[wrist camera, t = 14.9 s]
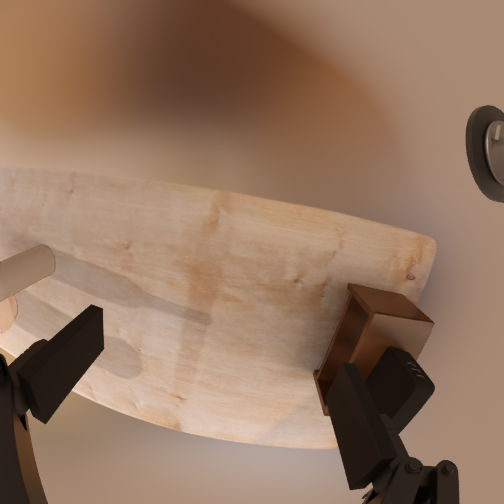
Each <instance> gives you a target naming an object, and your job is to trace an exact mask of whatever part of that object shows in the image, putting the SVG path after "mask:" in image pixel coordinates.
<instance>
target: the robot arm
mask: <svg viewBox="0 0 504 504" xmlns="http://www.w3.org/2000/svg"><path fill="white" fill-rule="evenodd" d="M483 154H484V159H485V163H486V166H487V169H488V171H489V173H490V175H491V177H492V178H493V180H494V181H495V182H496V183H497V184H499V185H501V186H504V122H503V121H492V122H490V123H488V124H487V126H486V127H485V130H484V133H483ZM103 350H104V335H103V308H100V307H98V306H95V305H92V304H91V305H90V306H89V307H88V308H86V309H85V310H84V311H83V312H82V313H80V314H79V315H78V316H77V317H76V318H75V319H73V320H72V321H71V322H70V323H69V324H68V325H66V326H65V327H64V328H63V329H62V330H61V331H60V332H58V333H57V334H56V335H55V336H54V337H53V338H52V339H50V340H49V341H47V340H45V339H42V340H39V341H37V342H35V343H33V344H32V345H31V346H30V347H29V349H27V350H25V351H24V353H22V354H21V355H20V356H19V357H18V358H16V359H15V360H14V362H12V363H11V364H10V365H9V366H7V362H6V360H5V357H4V356H3V355H2V354H0V504H48V502H47V500H46V496H45V493H44V490H43V487H42V484H41V480H40V477H39V473H38V469H37V465H36V461H35V457H34V452H33V448H32V443H31V437H30V432H29V425H28V419H27V415H26V412H27V411H28V409H29V408H30V411H31V413H32V415H33V417H35V418H36V419H38V420H40V421H41V422H43V423H44V424H46V423H47V422H48V421H49V419H50V418H51V417H52V415H53V414H54V412H55V411H56V410H57V408H58V407H59V406H60V404H61V403H62V401H63V400H64V399H65V398H66V396H67V395H68V394H69V393H70V391H71V390H72V389H73V387H74V386H75V385H76V383H77V382H78V381H79V380H80V378H81V377H82V376H83V375H84V373H85V372H86V371H87V370H88V368H89V367H90V366H91V365H92V363H93V362H94V361H95V360H96V358H97V357H98V356H99V355H100V353H101V352H102V351H103ZM325 400H326V404H327V407H328V411H329V414H330V418H331V421H332V425H333V428H334V432H335V436H336V439H337V443H338V447H339V450H340V454H341V458H342V462H343V465H344V469H345V473H346V477H347V481H348V484H349V489H350V490H355V489H363V488H366V486H368V485H369V484H370V483H371V482H372V485H373V488H372V489H371V490H370V491H369V492H367V494H365V495H364V496H363V497H362V499H364V498H365V497H366V496H367V497H366V498H365V500H364V502H363V503H362V504H459V480H458V469H457V467H456V465H455V464H454V463H453V462H451V461H448V460H443V461H441V462H439V463H438V464H437V465H436V466H435V467H434V466H423V464H422V463H421V462H420V461H419V460H418V459H416V458H413V457H409V455H408V453H407V451H406V449H405V447H404V444H403V443H402V440H401V438H400V436H398V432H397V430H395V429H396V428H395V426H394V424H393V422H392V420H391V419H390V418H389V417H388V416H387V415H386V414H379V412H378V410H377V408H376V406H375V404H374V401H373V399H372V397H371V395H370V393H369V391H368V389H367V387H366V385H365V383H364V381H363V379H362V377H361V375H360V373H359V371H358V369H357V367H356V365H355V364H354V363H344V362H343V363H342V365H341V367H340V370H339V372H338V374H337V376H336V378H335V380H334V382H333V384H332V385H331V387H330V389H329V391H328V393H327V395H326V397H325Z"/></svg>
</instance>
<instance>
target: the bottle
mask: <svg viewBox="0 0 504 504" xmlns="http://www.w3.org/2000/svg"><path fill="white" fill-rule="evenodd" d="M54 270H55V258H54V255H53V253H52V251H51V249H50V248H49V247H48V246H46V245H40V246H37V247H35V248H32V249H30V250H27V251H25V252H22V253H20V254H17V255H15V256H13V257H10V258H8V259H6V260H3V261H1V262H0V302H2V301H4V300H5V299H7V298H9V297H11V296H12V295H14V294H16V293H18V292H19V291H21V290H23V289H25V288H27V287H29V286H30V285H32V284H34V283H36V282H38V281H40V280H42V279H43V278H45V277H47V276H49V275H51V274H52V273H53V272H54Z"/></svg>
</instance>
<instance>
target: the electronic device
mask: <svg viewBox="0 0 504 504" xmlns="http://www.w3.org/2000/svg"><path fill="white" fill-rule="evenodd" d="M364 383H365V385H366V387H367V389H368V391H369V393H370V395H371V397H372V399H373V401H374V404H375V406H376V408H377V410H378V412H379V414H386V415H387V416H388V417H389V418H390V419H391V420H392V422H393V424H394V426H395V428H396V429H395V430H397V432H398V434H399V433H400V432H401V431H402V430H403V429H404V428H405V427H406V425H407V424H408V423H409V422H410V421H411V420H412V419H413V417H414V416H415V415H416V414H417V413H418V412H419V410H420V409H421V408H422V407H423V405H424V404H425V403H426V402H427V400H428V399H429V398H430V396H431V395H432V394H433V392H434V390H435V386H434V384H433V382H432V381H431V380H430V378H429V377H428V376H427V375H426V373H425V372H424V370H423V369H422V368H421V367H420V365H419V364H418V363H417V362H416V360H415V359H414V358H413V357H412V355H411V354H410V353H409V352H407V351H403V350H399V349H395V348H391V347H388V348H387V349H386V350H385V351H384V353H383V355H382V356H381V358H380V359H379V361H378V363H377V364H376V366H375V367H374V369H373V370H372V372H371V373H370V375H369V376H368V377H367V379H366V380H365V382H364Z"/></svg>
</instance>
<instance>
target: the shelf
mask: <svg viewBox="0 0 504 504" xmlns="http://www.w3.org/2000/svg"><path fill="white" fill-rule="evenodd" d="M347 289H348V290H349V291H350V292H351V293H350V296H349V298H348V301H347V304H346V306H345V309H344V312H343V314H342V317H341V320H340V322H339V325H338V327H337V330H336V332H335V335H334V337H333V340H332V342H331V344H330V347H329V349H328V351H327V354H326V356H325V358H324V361H323V363H322V365H321V367H320V370H319V371H316V370H314V373H313V376H314V380H315V383H316V387H317V391H318V395H319V398H320V402H321V406H322V410H323V413H324V416H330V414H329V411H328V407H327V404H326V400H325V397H326V395H327V393H328V391H329V389H330V387H331V385H332V384H333V382H334V380H335V378H336V376H337V374H338V372H339V370H340V367H341V365H342V363H343V362H344V363H354V364H355V365H356V367H357V369H358V371H359V373H360V375H361V377H362V379H363V381H364V382H365V380H366V379H367V377H368V376H369V375H370V373H371V372H372V370H373V369H374V367H375V366H376V364H377V363H378V361H379V359H380V358H381V356H382V355H383V353H384V351H385V350H386V349H387V348H388V347H391V348H395V349H399V350H403V351H407V352H409V353H410V354H411V355H412V357H413V358H414V359H415V360H417V358H418V356H419V355H420V353H421V351H422V349H423V347H424V345H425V343H426V341H427V339H428V337H429V335H430V333H431V330H432V328H433V326H434V324H435V323H434V322H433V321H432V320H431V319H430V318H429V317H427V316H426V315H425V314H424V313H422V311H421V310H419V309H418V308H417V307H416V306H415V305H414V304H413V303H411V302H410V301H409V300H408V299H407V298H406V297H404V296H403V295H401V294H396V293H392V292H387V291H382V290H378V289H373V288H369V287H364V286H359V285H355V284H350V283H349V284H348V287H347Z"/></svg>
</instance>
